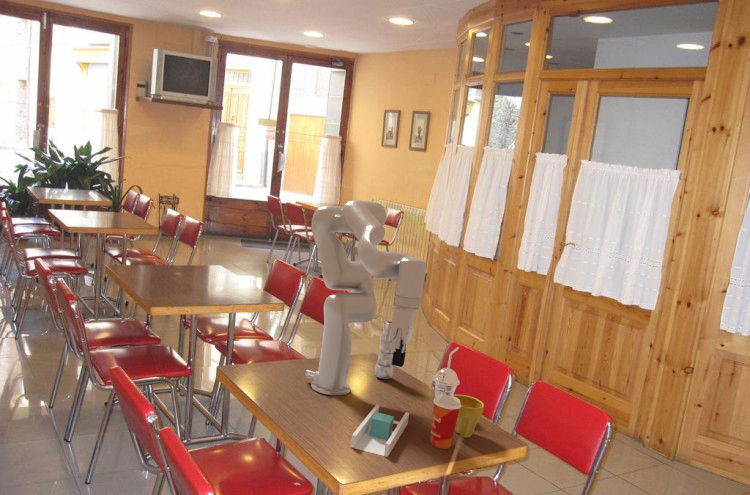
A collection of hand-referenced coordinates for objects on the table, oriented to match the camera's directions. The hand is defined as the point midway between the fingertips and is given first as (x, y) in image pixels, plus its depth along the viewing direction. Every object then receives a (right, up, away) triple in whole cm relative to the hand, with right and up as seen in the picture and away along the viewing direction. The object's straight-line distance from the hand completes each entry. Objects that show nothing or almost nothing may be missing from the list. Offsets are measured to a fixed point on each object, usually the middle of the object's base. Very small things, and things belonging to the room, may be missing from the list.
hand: (397, 365), depth 184 cm
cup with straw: (+15, -19, +22) cm, 33 cm away
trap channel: (-5, -19, -6) cm, 21 cm away
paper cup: (+11, -22, -6) cm, 25 cm away
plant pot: (+19, -21, +7) cm, 29 cm away
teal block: (-5, -18, -6) cm, 19 cm away
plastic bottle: (-4, -13, +45) cm, 47 cm away
